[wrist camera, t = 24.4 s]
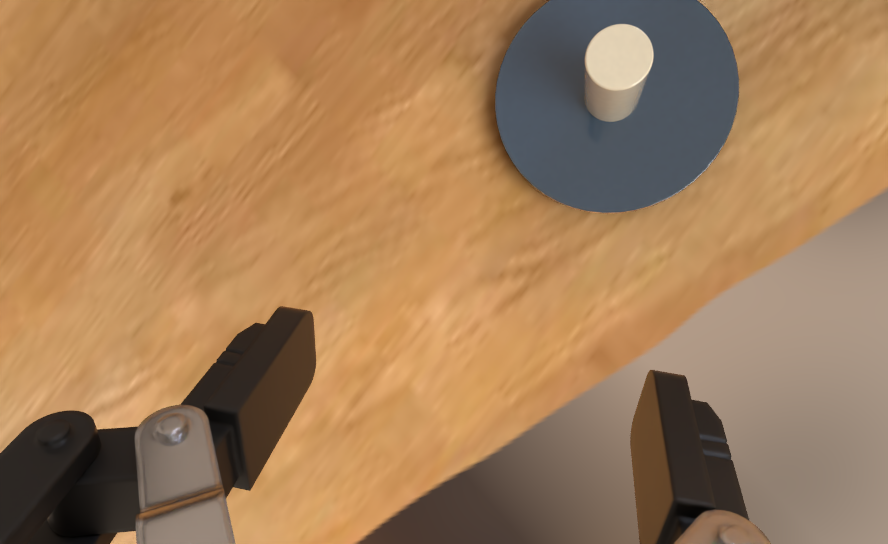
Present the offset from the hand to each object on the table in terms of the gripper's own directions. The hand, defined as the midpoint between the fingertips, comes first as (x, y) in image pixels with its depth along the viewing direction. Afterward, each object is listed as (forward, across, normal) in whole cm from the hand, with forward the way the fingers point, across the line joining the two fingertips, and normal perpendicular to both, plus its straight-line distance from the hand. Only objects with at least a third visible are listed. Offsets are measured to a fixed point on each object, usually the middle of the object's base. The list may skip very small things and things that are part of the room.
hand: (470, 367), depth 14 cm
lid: (+22, -4, -1) cm, 22 cm away
